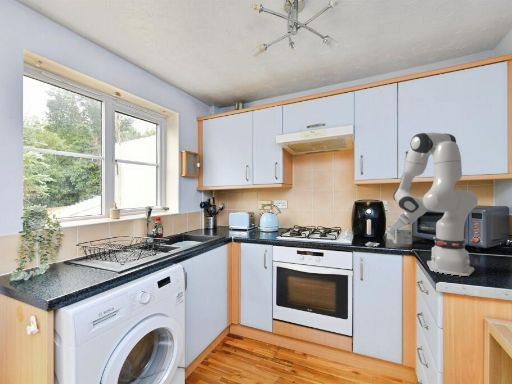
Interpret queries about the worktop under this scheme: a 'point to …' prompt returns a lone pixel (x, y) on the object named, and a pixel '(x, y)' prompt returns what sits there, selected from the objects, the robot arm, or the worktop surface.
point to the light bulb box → (403, 236)
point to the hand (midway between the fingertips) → (390, 231)
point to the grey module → (390, 235)
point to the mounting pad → (372, 244)
